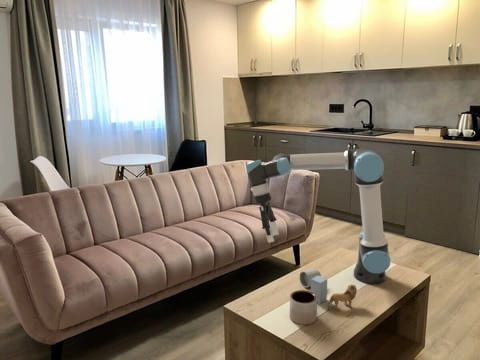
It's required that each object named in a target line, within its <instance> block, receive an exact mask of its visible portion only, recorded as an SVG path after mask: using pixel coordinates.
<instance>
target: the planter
mask: <svg viewBox="0 0 480 360" xmlns="http://www.w3.org/2000/svg"><path fill="white" fill-rule="evenodd" d="M317 306H318V303H317V296H316V295H315V294H314V293H312V292H311V290H304V289H303V290H301V289H300V290H295V291H293V292H292V293H290V295H289V318H290V320H291V321H292V322H294V323H295V324H297V325H298V324H299V325H301V326H302V325H305V326H306V325H312V324H313V323H314V322H316V321H317V316H318V315H317V314H318V312H317V311H318V307H317Z"/></svg>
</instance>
